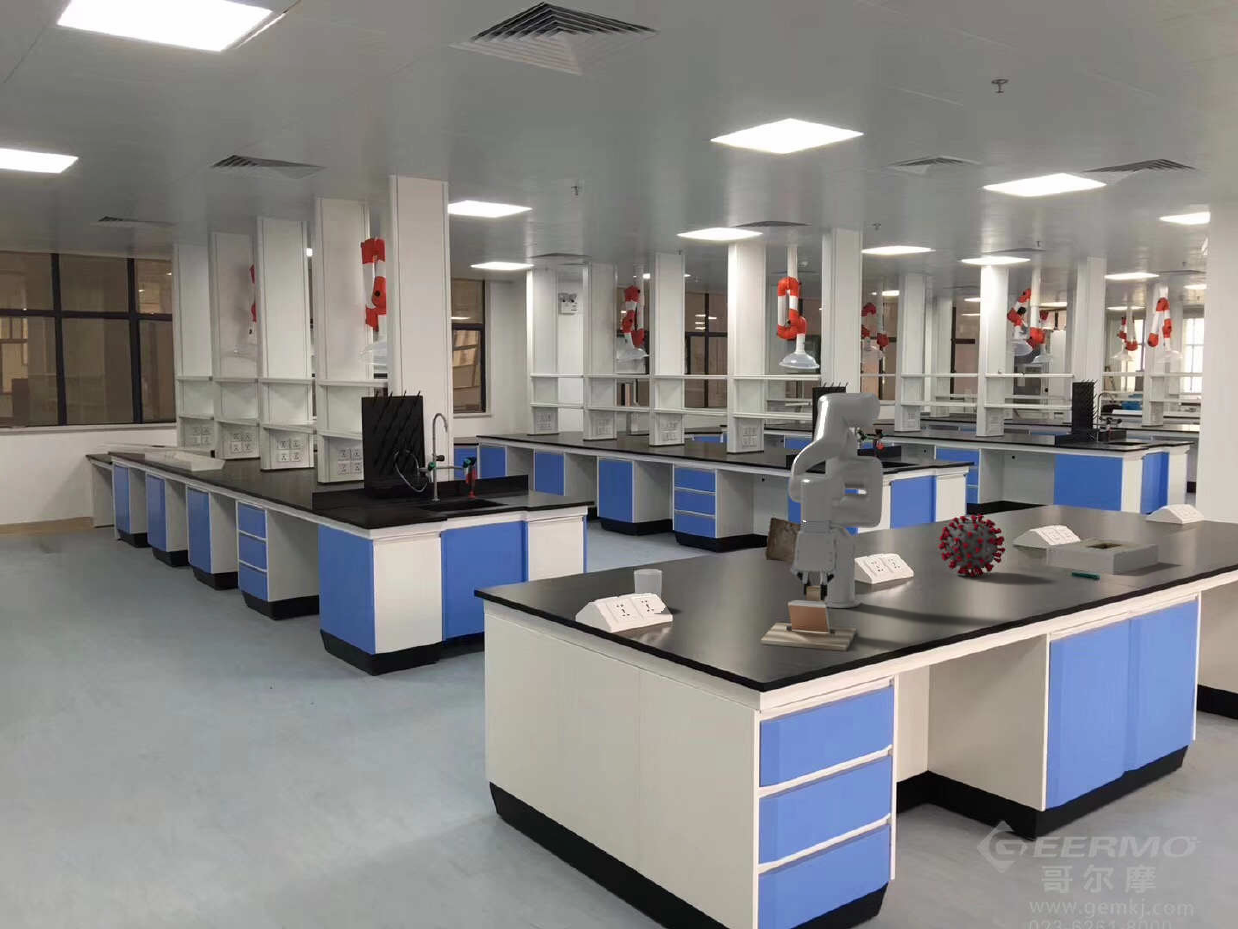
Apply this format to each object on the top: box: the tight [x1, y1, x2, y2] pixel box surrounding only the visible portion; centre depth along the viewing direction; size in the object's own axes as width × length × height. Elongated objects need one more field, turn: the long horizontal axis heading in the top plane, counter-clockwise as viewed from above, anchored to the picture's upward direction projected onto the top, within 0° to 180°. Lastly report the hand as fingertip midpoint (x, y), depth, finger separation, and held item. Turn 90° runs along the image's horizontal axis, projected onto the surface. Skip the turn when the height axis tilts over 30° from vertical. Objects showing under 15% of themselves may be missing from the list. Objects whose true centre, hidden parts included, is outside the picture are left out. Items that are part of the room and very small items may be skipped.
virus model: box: [938, 514, 1006, 577], centre depth 313 cm, size 20×20×20 cm
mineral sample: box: [765, 517, 801, 563], centre depth 342 cm, size 17×4×15 cm, turn 41°
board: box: [760, 622, 857, 652], centre depth 236 cm, size 18×20×2 cm
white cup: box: [633, 568, 663, 600], centre depth 272 cm, size 8×8×10 cm
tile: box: [787, 601, 830, 632], centre depth 235 cm, size 9×9×1 cm
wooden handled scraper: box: [790, 585, 829, 605], centre depth 242 cm, size 19×8×4 cm, turn 159°
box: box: [1046, 537, 1160, 576], centre depth 330 cm, size 23×8×32 cm
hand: (815, 598), depth 244 cm, fingers closed on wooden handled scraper, 3 cm apart
